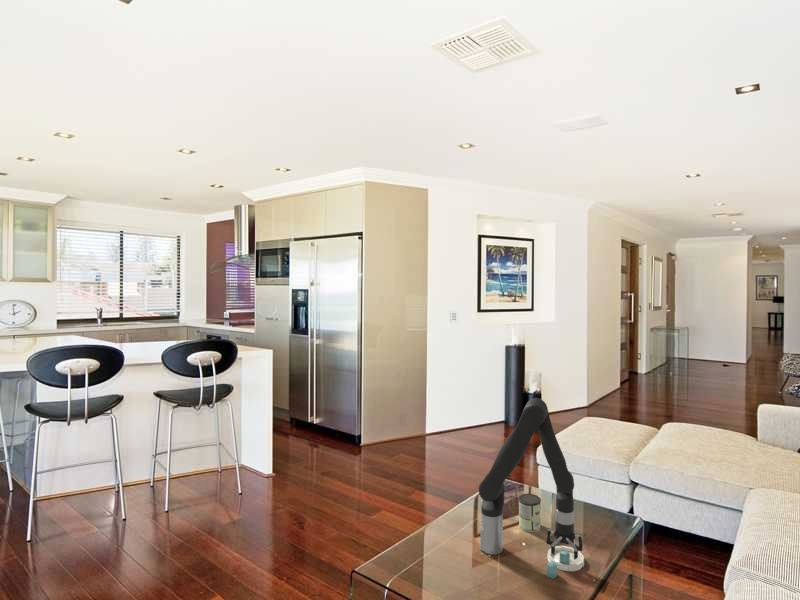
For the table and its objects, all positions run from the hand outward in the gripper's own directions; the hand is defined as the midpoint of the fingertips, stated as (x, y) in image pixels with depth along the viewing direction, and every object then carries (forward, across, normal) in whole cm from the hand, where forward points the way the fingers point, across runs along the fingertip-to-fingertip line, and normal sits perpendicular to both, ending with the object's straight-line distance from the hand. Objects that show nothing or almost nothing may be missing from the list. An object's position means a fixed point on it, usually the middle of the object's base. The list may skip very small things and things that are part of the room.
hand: (564, 556), depth 218 cm
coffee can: (+4, -19, +26) cm, 32 cm away
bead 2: (+3, 0, 0) cm, 3 cm away
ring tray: (+4, 0, +4) cm, 5 cm away
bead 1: (+4, -4, -9) cm, 10 cm away
